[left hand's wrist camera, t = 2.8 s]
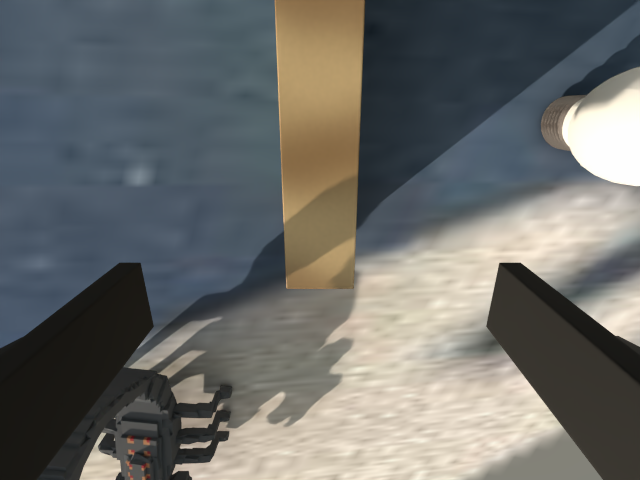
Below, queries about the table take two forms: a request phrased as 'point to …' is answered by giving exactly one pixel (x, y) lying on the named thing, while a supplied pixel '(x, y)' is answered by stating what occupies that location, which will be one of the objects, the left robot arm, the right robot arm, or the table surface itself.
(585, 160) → the light bulb
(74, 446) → the toy
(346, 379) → the table surface
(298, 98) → the wooden beam
